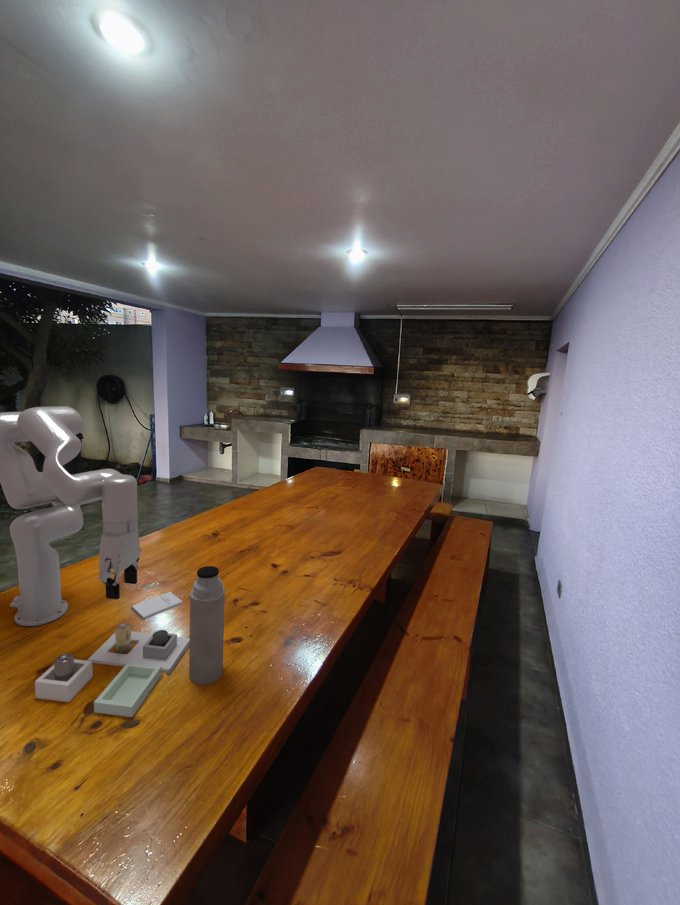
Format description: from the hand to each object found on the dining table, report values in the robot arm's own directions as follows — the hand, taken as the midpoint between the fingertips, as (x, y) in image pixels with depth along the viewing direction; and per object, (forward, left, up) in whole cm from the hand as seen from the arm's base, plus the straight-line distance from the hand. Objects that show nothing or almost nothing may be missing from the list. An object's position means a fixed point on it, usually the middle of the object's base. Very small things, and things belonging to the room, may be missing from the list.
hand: (122, 589), depth 100 cm
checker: (+5, 0, -18) cm, 18 cm away
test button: (+10, 0, -15) cm, 18 cm away
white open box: (-5, -14, -18) cm, 23 cm away
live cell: (0, 0, -18) cm, 18 cm away
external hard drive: (-2, +21, -18) cm, 28 cm away
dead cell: (-5, -14, -17) cm, 23 cm away
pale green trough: (+10, -14, -18) cm, 24 cm away
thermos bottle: (+24, -4, -18) cm, 30 cm away
